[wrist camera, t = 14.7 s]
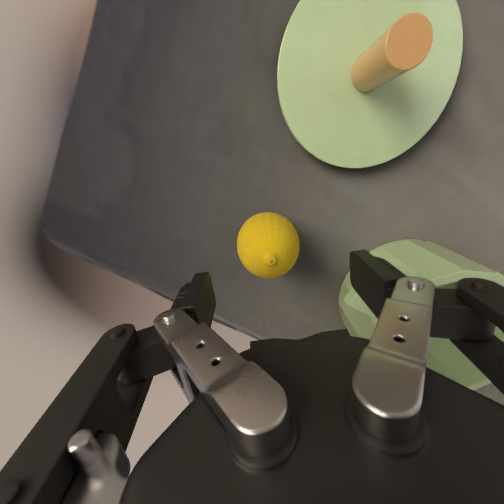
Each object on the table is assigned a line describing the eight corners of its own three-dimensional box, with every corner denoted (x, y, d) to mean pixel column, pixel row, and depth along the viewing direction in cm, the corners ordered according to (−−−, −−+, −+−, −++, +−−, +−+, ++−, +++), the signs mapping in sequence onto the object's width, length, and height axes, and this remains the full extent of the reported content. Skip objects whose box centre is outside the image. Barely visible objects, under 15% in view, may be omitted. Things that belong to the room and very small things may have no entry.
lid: (341, -90, 17) (392, -232, 11) (490, 31, 20) (602, -27, 13) (246, 117, 22) (243, 101, 16) (376, 195, 24) (419, 208, 18)
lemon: (265, 265, 27) (270, 306, 20) (228, 231, 26) (218, 262, 18) (302, 231, 26) (323, 261, 18) (266, 193, 24) (272, 209, 17)
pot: (367, 204, 25) (417, 224, 17) (502, 282, 28) (594, 328, 20) (296, 306, 29) (312, 358, 21) (420, 364, 32) (471, 426, 25)
